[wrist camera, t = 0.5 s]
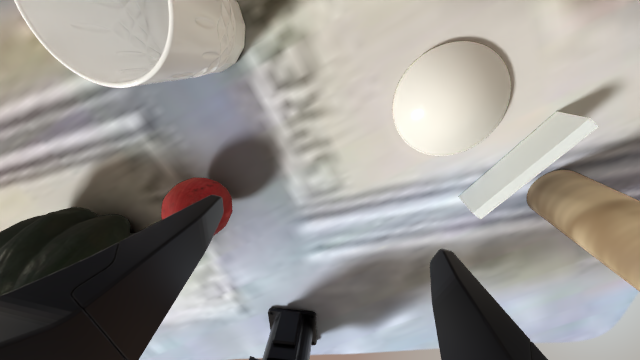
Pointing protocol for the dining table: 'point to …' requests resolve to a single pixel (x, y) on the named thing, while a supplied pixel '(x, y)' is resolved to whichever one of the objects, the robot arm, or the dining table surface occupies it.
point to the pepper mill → (592, 219)
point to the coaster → (451, 98)
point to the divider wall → (526, 161)
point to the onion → (196, 197)
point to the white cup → (138, 37)
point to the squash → (55, 243)
